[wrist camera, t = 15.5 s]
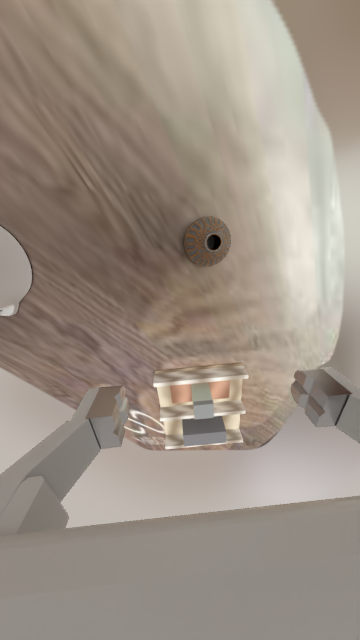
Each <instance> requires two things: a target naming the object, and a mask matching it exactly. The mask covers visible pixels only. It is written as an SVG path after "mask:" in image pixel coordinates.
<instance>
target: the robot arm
mask: <svg viewBox="0 0 360 640" xmlns="http://www.w3.org/2000/svg"><path fill="white" fill-rule="evenodd" d="M31 283H32V270H31V265H30V262H29V260H28V257H27V255H26V253H25V251H24V250H23V248H22V247H21V245H20V244H19V243H18V242H17V240H16V239H15V238H14V237H13V236H12V235H11V234H10V233H9V232H8V231H6V230H5V229H4V228H2V227H1V226H0V315H1V316H11V315H14V314H16V313H17V311H18V308H19V302H20V301H21V299H22V298H23V297H24V296H25V295H26V294H27V293H28V291H29V289H30V287H31ZM294 378H295V380H296V381H295V382H294V383H293V384H292V386H291V393H292V397H293V399H294V400H295V402H296V403H297V404H298V405H299V406H301V407H302V408H304V409H305V414H306V416H307V417H308V418H309V419H310V420H311V422H312V423H313V424H314V425H315V426H316V427H328V426H336V427H337V428H338V429H339V430H341V431H342V432H344V433H345V434H347V435H348V436H350V437H351V438H353V439H354V440H356V441H357V442H358V443H360V388H359V387H357V386H356V385H355V384H353V383H352V382H351V381H349V380H348V379H347V378H345V377H344V376H343V375H341V374H340V373H339V372H337V371H336V370H335V369H333V368H330V367H326V368H318V369H317V368H316V369H306V370H297V371H296V372H295V374H294ZM125 394H126V390H125V387H124V386H112V387H101V388H90V389H89V390H88V391H87V392H86V394H85V396H84V398H83V400H82V401H81V403H80V405H79V407H78V409H77V410H76V412H75V414H74V416H73V417H72V419H71V421H66V422H65V423H64V424H63V425H61V426H60V427H59V428H58V429H56V430H55V431H54V432H53V433H51V434H50V435H49V436H48V437H46V438H45V439H44V440H43V441H42V442H40V443H39V444H38V445H37V446H35V447H34V448H33V449H32V450H30V451H29V452H28V453H27V454H26V455H24V456H23V457H22V458H20V459H19V460H18V461H17V462H15V463H14V464H13V465H12V466H10V467H9V468H8V469H7V470H5V471H4V472H3V473H2V474H0V640H360V496H353V497H345V498H335V499H326V500H317V501H309V502H299V503H290V504H282V505H272V506H263V507H254V508H245V509H236V510H227V511H218V512H208V513H199V514H191V515H181V516H172V517H164V518H154V519H145V520H136V521H127V522H118V523H110V524H101V525H91V526H82V527H74V528H66V525H67V522H68V519H69V516H68V513H67V512H66V510H65V509H64V507H63V506H62V504H61V503H60V502H61V501H62V500H63V498H64V497H65V496H66V494H67V493H68V492H69V490H70V489H71V488H72V487H73V485H74V484H75V483H76V481H77V480H78V479H79V478H80V476H81V475H82V474H83V472H84V471H85V470H86V469H87V467H88V466H89V465H90V463H91V462H92V461H93V460H94V458H95V457H96V456H97V454H98V453H99V452H100V449H105V448H113V447H120V446H121V445H122V441H123V437H124V433H125V429H124V424H125V423H126V422H127V420H128V415H129V402H128V399H127V398H126V397H125Z"/></svg>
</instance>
